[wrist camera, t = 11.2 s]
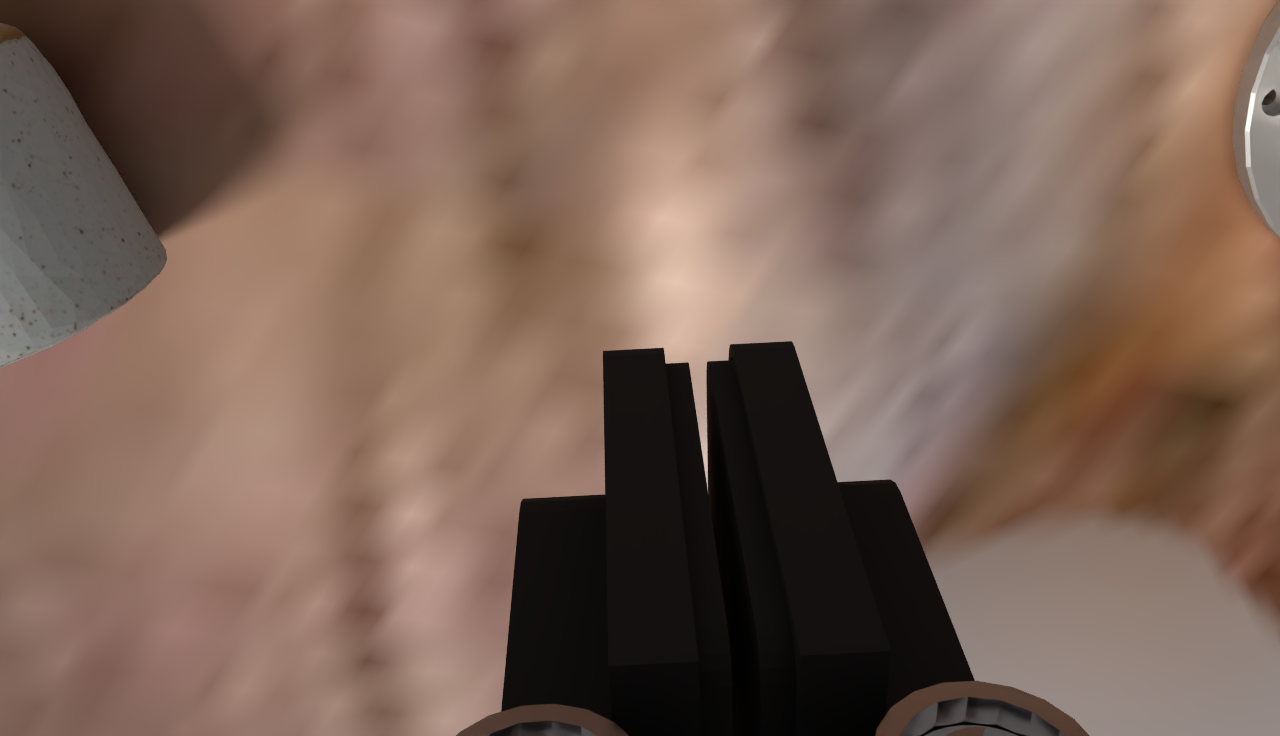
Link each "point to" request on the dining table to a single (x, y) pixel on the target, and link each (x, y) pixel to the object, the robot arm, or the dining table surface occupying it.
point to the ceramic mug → (59, 213)
